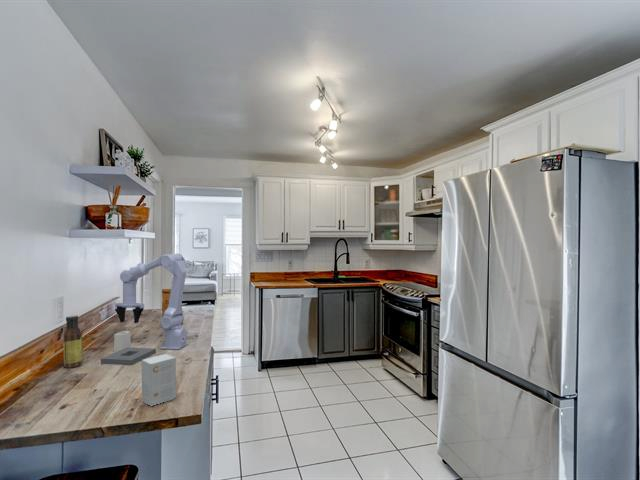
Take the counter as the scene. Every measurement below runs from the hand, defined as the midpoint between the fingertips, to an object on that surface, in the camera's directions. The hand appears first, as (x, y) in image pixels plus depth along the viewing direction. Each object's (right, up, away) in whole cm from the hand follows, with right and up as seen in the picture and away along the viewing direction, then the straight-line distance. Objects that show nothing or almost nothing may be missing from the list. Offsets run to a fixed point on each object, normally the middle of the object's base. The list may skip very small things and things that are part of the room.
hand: (129, 322), depth 175 cm
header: (+12, -10, -22) cm, 27 cm away
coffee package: (+4, -11, +41) cm, 42 cm away
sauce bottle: (-6, -10, -32) cm, 34 cm away
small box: (+43, -10, -63) cm, 77 cm away
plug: (+2, -10, -11) cm, 15 cm away
